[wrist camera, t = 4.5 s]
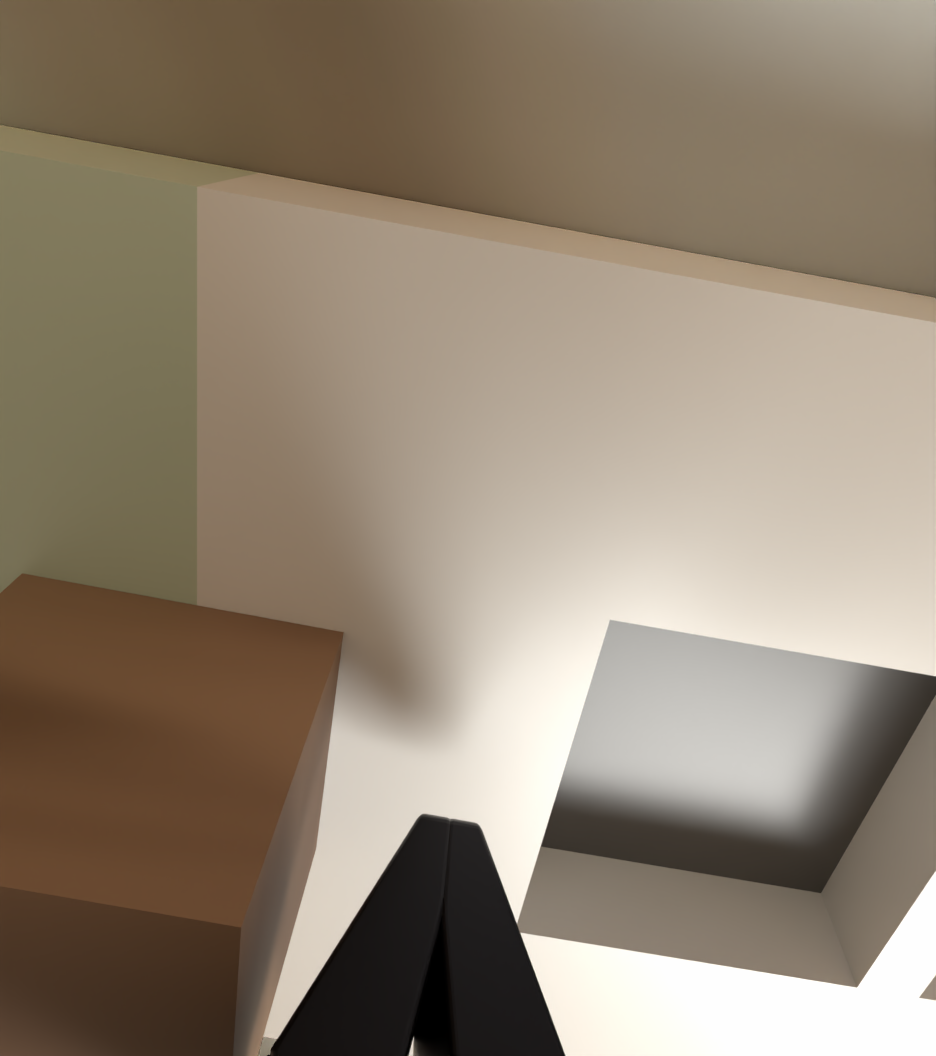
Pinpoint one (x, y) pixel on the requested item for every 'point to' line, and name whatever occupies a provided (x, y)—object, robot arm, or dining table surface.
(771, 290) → the board
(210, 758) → the walnut block
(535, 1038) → the robot arm
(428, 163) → the dining table surface
